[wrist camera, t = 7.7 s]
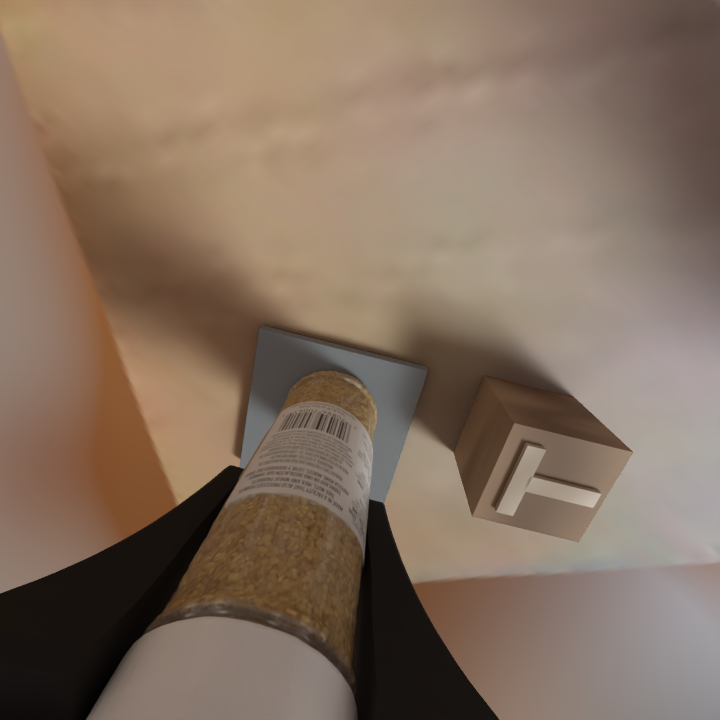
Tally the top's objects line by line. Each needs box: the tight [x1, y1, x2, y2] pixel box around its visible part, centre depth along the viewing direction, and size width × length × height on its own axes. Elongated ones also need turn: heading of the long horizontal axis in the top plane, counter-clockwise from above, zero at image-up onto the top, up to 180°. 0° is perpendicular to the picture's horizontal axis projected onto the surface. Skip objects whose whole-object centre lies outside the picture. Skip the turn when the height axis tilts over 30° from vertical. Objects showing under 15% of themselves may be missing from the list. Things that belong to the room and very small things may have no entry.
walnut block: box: [454, 376, 633, 542], centre depth 16 cm, size 4×4×5 cm
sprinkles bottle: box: [86, 371, 377, 720], centre depth 11 cm, size 5×5×13 cm
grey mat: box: [240, 326, 428, 504], centre depth 18 cm, size 8×8×1 cm
